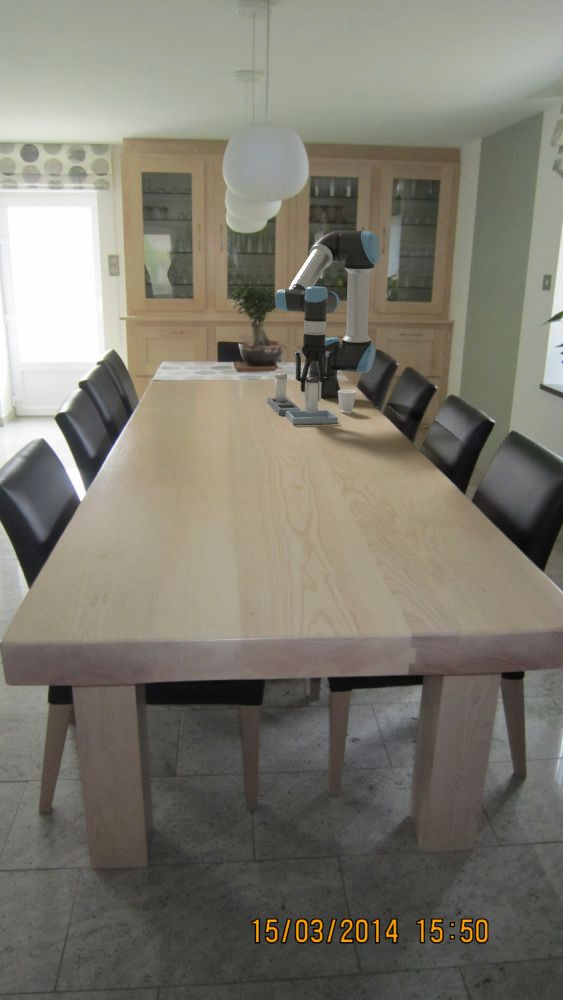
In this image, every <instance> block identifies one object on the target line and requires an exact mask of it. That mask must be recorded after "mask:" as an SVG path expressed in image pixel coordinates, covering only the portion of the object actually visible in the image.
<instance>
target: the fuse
mask: <svg viewBox="0 0 563 1000" xmlns="http://www.w3.org/2000/svg"><path fill="white" fill-rule="evenodd" d="M287 380H288V374H287V373H281V372H280V373H278V372H277V373H275V374H274V398H275V400H274V402H286V397H287Z"/></svg>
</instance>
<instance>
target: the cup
mask: <svg viewBox="0 0 563 1000" xmlns="http://www.w3.org/2000/svg"><path fill="white" fill-rule="evenodd" d="M356 396H357V391H356V390H353V389H340V390H339V391H338V396H337V398H338V404H339V405H338V406H339V409H340V413H341V414H345V415H346V414H347V415H348V414H352V412H353V411H352V410H353V408H354V405H355V400H356Z"/></svg>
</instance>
